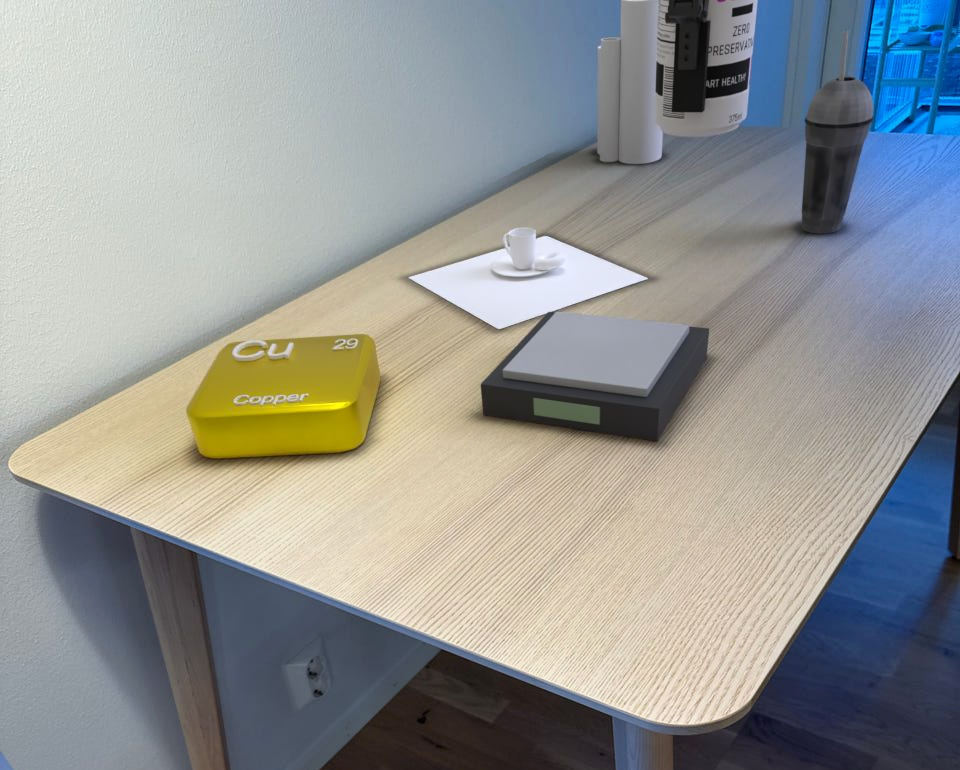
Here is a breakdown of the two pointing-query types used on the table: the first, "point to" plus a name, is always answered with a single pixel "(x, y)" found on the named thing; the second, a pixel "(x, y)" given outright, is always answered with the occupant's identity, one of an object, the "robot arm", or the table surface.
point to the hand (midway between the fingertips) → (701, 98)
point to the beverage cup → (833, 148)
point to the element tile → (286, 397)
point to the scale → (597, 374)
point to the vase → (629, 88)
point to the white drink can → (709, 71)
